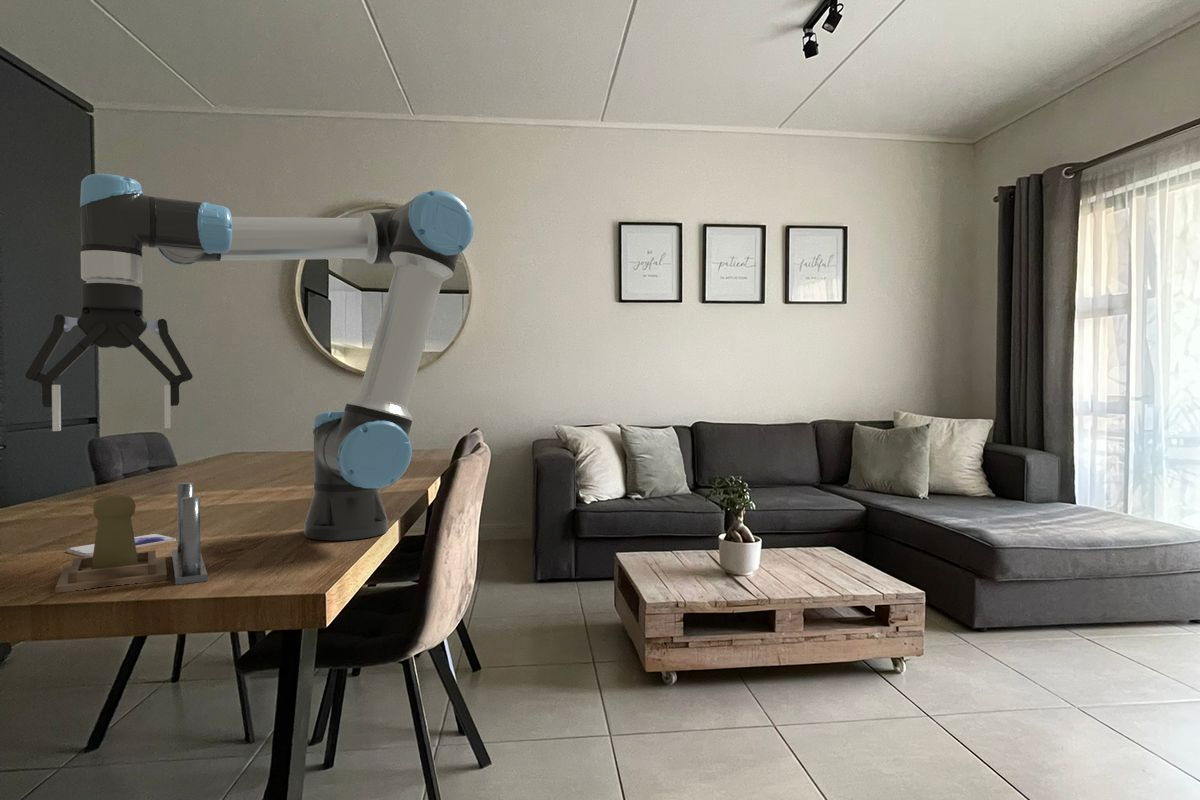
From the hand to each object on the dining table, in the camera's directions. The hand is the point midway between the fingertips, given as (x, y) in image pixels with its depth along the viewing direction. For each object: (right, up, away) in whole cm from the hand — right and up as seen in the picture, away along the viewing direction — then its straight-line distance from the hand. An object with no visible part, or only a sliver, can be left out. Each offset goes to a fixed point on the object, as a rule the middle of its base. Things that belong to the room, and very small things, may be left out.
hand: (114, 429), depth 108 cm
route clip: (+8, -22, +5) cm, 24 cm away
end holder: (0, -22, 0) cm, 22 cm away
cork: (0, -21, +1) cm, 21 cm away
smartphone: (-12, -22, +20) cm, 32 cm away
